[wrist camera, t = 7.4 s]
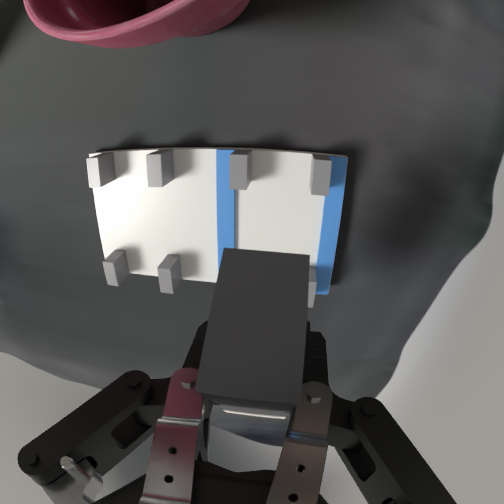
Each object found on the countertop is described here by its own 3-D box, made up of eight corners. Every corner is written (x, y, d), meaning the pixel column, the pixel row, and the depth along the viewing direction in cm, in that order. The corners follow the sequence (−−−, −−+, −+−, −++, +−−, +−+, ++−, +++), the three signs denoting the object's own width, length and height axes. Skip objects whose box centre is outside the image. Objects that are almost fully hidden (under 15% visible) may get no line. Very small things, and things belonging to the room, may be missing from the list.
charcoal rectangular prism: (222, 246, 11) (192, 392, 8) (311, 253, 10) (301, 405, 8) (241, 336, 19) (230, 414, 16) (290, 341, 19) (282, 420, 16)
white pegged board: (95, 151, 24) (72, 159, 21) (345, 155, 22) (354, 163, 19) (111, 265, 30) (95, 282, 27) (327, 286, 28) (330, 308, 25)
